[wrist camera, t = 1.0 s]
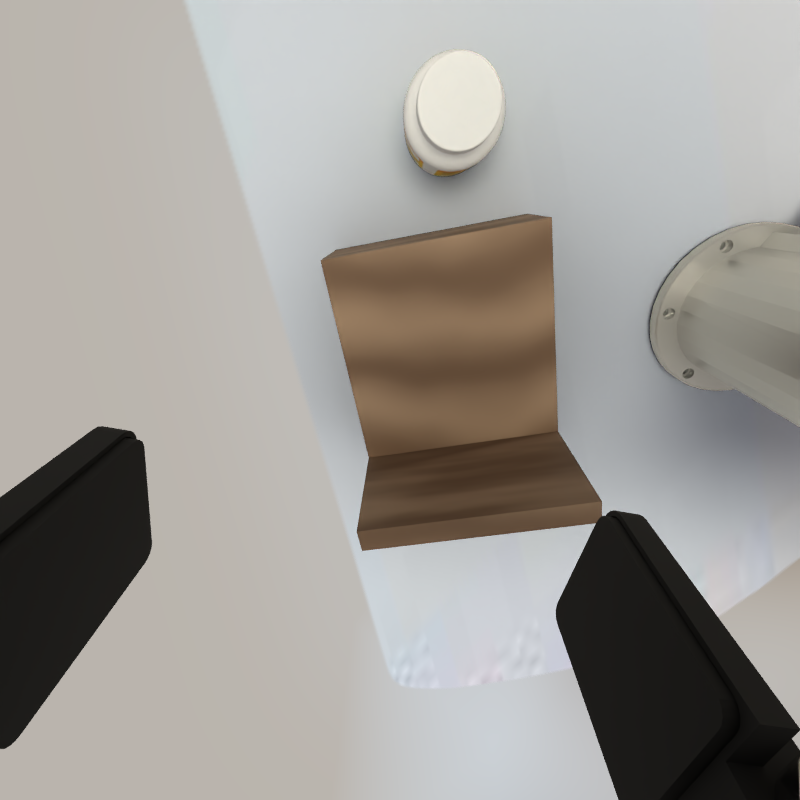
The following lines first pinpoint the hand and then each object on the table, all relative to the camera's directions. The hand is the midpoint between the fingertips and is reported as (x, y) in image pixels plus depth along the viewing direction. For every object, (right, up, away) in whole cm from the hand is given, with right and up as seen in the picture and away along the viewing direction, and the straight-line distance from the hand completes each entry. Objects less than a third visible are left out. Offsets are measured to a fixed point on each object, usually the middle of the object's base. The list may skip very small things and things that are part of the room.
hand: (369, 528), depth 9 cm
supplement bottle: (+4, +21, +20) cm, 29 cm away
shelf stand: (+4, +8, +26) cm, 27 cm away
